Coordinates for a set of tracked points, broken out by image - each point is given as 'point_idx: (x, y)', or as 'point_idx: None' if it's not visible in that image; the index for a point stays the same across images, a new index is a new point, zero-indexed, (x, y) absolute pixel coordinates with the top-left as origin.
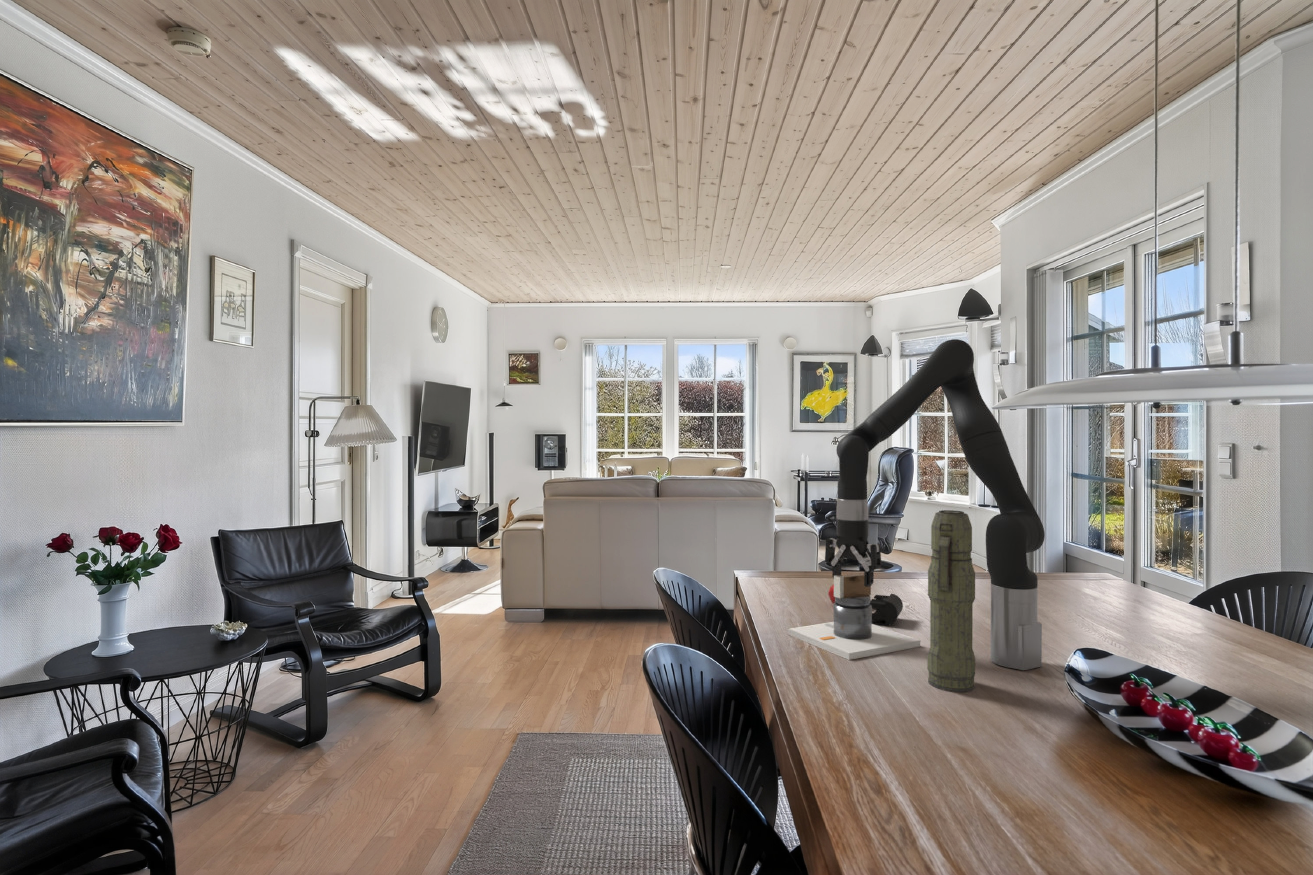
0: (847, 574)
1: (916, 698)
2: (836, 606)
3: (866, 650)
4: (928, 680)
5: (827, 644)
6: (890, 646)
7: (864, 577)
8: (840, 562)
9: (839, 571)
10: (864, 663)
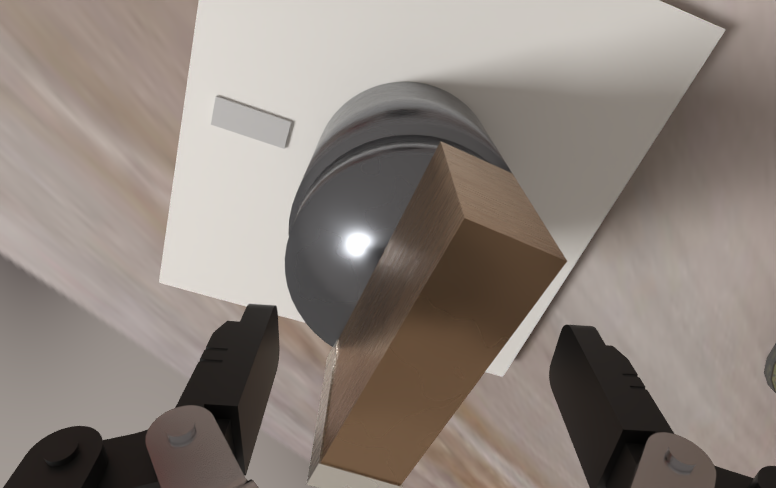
0: (363, 388)
1: (740, 470)
2: None
3: (540, 315)
4: (767, 378)
5: None
6: (605, 211)
7: (573, 440)
8: (227, 454)
9: (257, 385)
10: (552, 357)
